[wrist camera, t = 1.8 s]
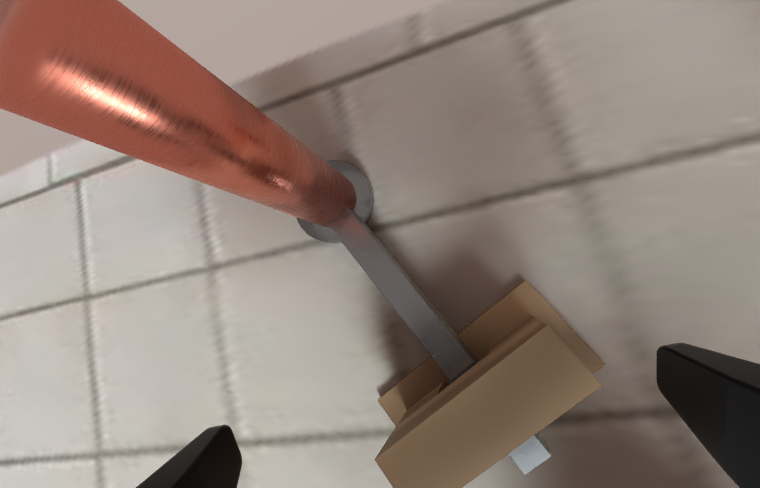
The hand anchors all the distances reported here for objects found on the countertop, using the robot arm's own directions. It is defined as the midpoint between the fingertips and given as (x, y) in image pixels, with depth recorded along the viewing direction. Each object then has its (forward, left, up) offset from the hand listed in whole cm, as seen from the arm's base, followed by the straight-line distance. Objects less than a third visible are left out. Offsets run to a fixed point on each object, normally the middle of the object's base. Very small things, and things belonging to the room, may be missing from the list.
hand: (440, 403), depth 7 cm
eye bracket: (-2, -1, -12) cm, 12 cm away
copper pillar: (+2, +3, -11) cm, 12 cm away
